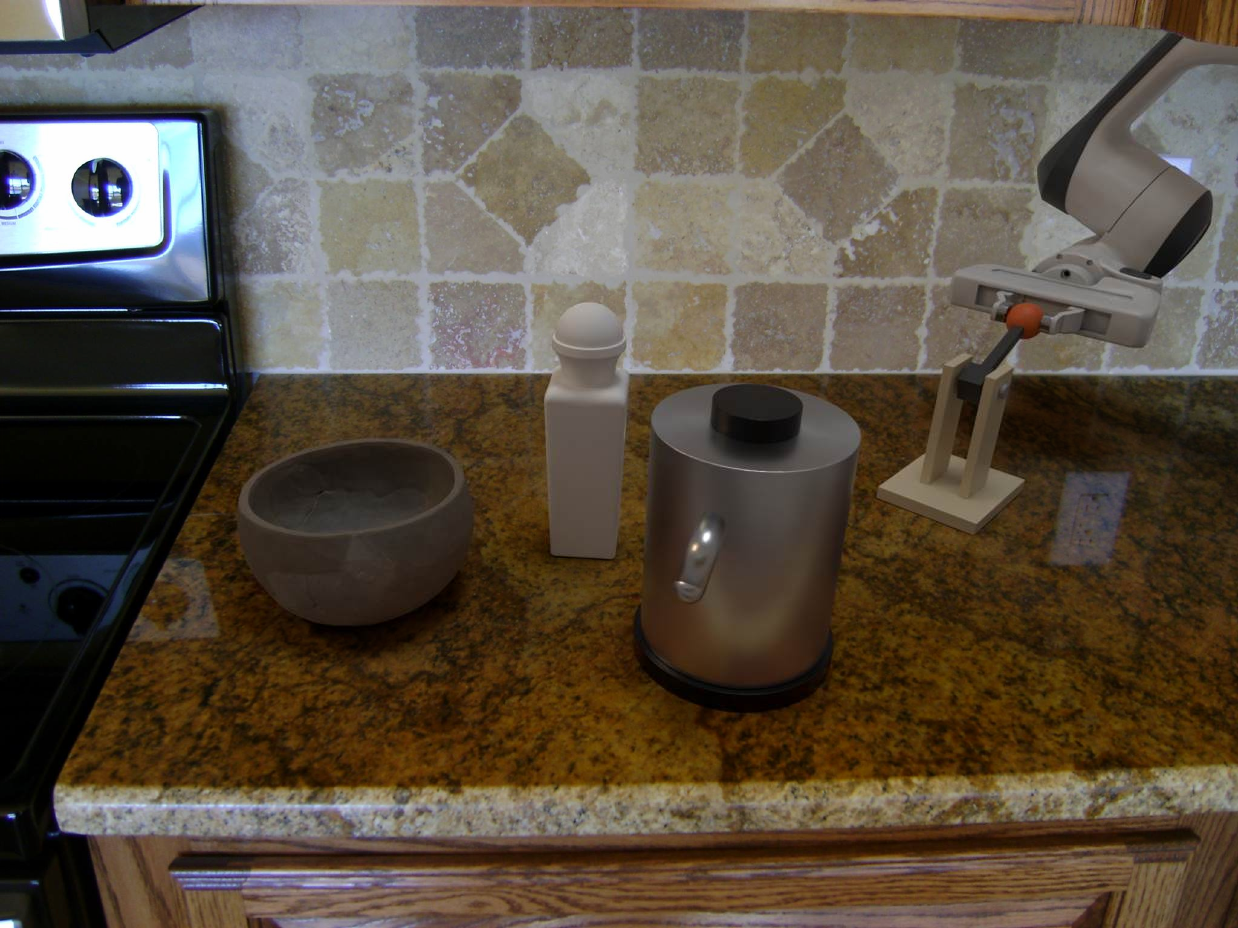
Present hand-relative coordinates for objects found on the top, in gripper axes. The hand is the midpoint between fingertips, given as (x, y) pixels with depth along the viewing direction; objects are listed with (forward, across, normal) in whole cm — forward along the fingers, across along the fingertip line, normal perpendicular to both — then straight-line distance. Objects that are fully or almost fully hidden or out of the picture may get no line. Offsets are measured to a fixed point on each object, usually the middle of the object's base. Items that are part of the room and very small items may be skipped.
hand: (1022, 320), depth 92 cm
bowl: (+59, -28, +16) cm, 67 cm away
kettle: (+44, -2, +16) cm, 47 cm away
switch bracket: (+10, 0, +16) cm, 19 cm away
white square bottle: (+41, -20, +16) cm, 49 cm away
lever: (+3, 0, +4) cm, 5 cm away
